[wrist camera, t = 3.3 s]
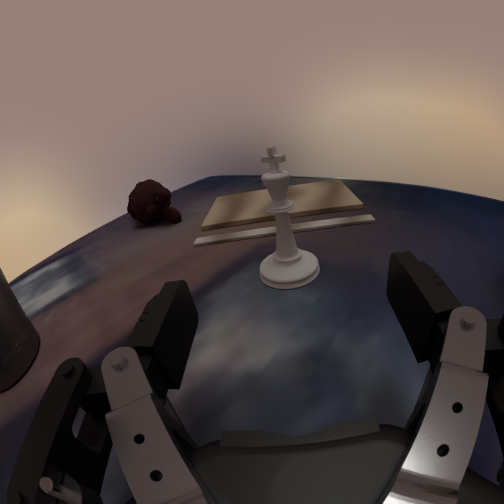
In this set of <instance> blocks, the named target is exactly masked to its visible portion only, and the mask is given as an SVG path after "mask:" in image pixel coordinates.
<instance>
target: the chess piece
mask: <svg viewBox="0 0 504 504" xmlns="http://www.w3.org/2000/svg"><path fill="white" fill-rule="evenodd" d="M267 153H268V156H262V157H261V162H262V163H269V164H270V169H271V170H270V171H269V172H267V173H265V174H263V175H262V181H263V183H264V185H265V186H266V188H267V190H268V192H269V194H270V196H271V198H272V202H270V203H269V204H267V206H266V207H267V208H266V211H267V212H269V213H275V220H276V251H275V252H274V253H273V254H271V255H269V256H268V257H266V258H265V259H264V260H263V261H262V263H261V265H260V279H261V280H262V282H263V283H264V284H266V285H268V286H270V287H273V288H277V289H293V288H298V287H301V286H304V285H306V284H308V283H310V282H312V281H313V280H314V279H315V278H316V277H317V276H318V274H319V271H320V268H319V265H318V260H317V258H316V257H315V256H314V255H313V254H312V253H310V252H308V251H304V250H300V249H299V248H297V246H296V242H295V238H294V235H293V231H292V227H291V223H290V219H289V215H288V211H291V210H292V209H294V208H295V204H294V202H293V201H291V200H288V199H286V196H287V192H288V184H289V180H290V173H289V172H288V171H285V170H281V169H279V166H278V162H284V161H286V159H285V155H277V154H276V148H275V147H268V148H267Z"/></svg>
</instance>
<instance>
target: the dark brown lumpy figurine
mask: <svg viewBox="0 0 504 504" xmlns="http://www.w3.org/2000/svg"><path fill="white" fill-rule="evenodd" d="M170 198H171V193H170V191H169V190H168V189H167V188H164V187H163V186H162V185H161V184H160V183H158V182H156V181H154V180H151V179H149V180H146V181H143V182H139V183H138V184H136V187H135V188H134V190H133V191H132V192H131V193H130V195H129V203H128V207H127V210H128V213H130V214H131V216H132V218H134V219H137V220H139V221H141V222H144V223H145V222H148V221H158V220H159V219H161V218H162V217H163V216H165V217H166V218H167V219H169V220H171V221H173V222H179V221H180V220H181V213H180V212H179V211H178V210H176V209H175V208H172V207H169V206H170V204H171V201H170Z"/></svg>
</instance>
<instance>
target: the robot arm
mask: <svg viewBox="0 0 504 504" xmlns="http://www.w3.org/2000/svg"><path fill="white" fill-rule="evenodd" d="M387 297H388V300H389V303H390V305H391V307H392V309H393V311H394V313H395V315H396V317H397V319H398V321H399V323H400V325H401V327H402V329H403V331H404V333H405V335H406V338H407V340H408V342H409V344H410V346H411V349H412V351H413V353H414V355H415V358H416V360H417V362H418V363H420V362H424V361H427V360H429V363H430V367H429V370H428V372H427V375H426V378H425V381H424V384H423V387H422V390H421V392H420V395H419V398H418V400H417V403H416V405H415V408H414V410H413V412H412V414H411V416H410V418H409V420H408V422H407V424H406V426H405V428H402V427H398V426H394V425H387V424H378V419H377V415H374V416H370V417H365V418H361V419H356V420H351V421H345V422H339V423H337V424H334V425H332V426H329V427H327V428H324V429H321V430H318V431H316V432H313V433H310V434H307V435H304V436H289V435H283V434H276V433H270V432H265V431H259V430H256V431H224V430H222V432H221V440H216V441H213V442H210V443H207V444H205V445H202V446H200V447H198V446H197V445H196V443H195V442H194V441H193V439H192V438H191V437H190V435H189V434H188V432H187V431H186V429H185V427H184V426H183V424H182V422H181V420H180V419H179V417H178V415H177V413H176V411H175V410H174V408H173V406H172V404H171V402H170V400H169V398H168V397H167V396H166V395H167V391H168V389H180V385H181V382H182V378H183V375H184V371H185V367H186V364H187V360H188V357H189V353H190V350H191V346H192V343H193V340H194V336H195V333H196V329H197V326H198V312H197V309H196V306H195V304H194V301H193V299H192V296H191V293H190V291H189V288H188V285H187V283H186V282H185V281H184V280H180V281H171V282H166V283H165V284H164V286H163V288H162V289H161V291H160V293H159V295H155V296H154V297H153V298H152V299H151V300H150V301H149V302H148V303H147V305H146V307H145V308H144V310H143V312H142V313H143V314H141V316H140V318H139V322H137V323H136V325H135V327H134V329H133V331H132V333H131V335H130V337H129V339H128V341H127V343H126V345H125V347H120V348H117V349H115V350H113V351H111V352H110V353H109V354H108V355H107V356H106V357H105V358H104V360H103V362H102V364H99V365H95V366H90V367H86V365H85V364H84V363H83V362H82V360H81V359H79V358H70V359H67V360H66V361H64V362H63V363H62V364H61V365H60V366H59V367H58V369H57V370H56V372H55V374H54V376H53V378H52V380H51V382H50V384H49V386H48V388H47V390H46V392H45V394H44V396H43V398H42V400H41V402H40V404H39V406H38V408H37V411H36V413H35V415H34V417H33V420H32V422H31V424H30V427H29V429H28V431H27V434H26V436H25V439H24V441H23V444H22V447H21V449H20V452H19V455H18V458H17V461H16V464H15V467H14V470H13V473H12V476H11V479H10V483H9V486H8V490H7V504H103V502H102V499H101V497H100V492H101V488H102V483H103V479H104V475H105V471H106V467H107V463H108V459H109V455H110V451H111V448H112V444H113V445H114V448H115V451H116V454H117V457H118V459H119V462H120V465H121V467H122V470H123V473H124V475H125V477H126V480H127V482H128V485H129V487H130V489H131V492H132V494H133V496H134V497H133V498H132V499H131V500H129V501H128V502H126V503H125V504H504V459H503V461H502V463H501V467H500V469H499V470H498V472H497V475H496V479H497V481H498V482H500V483H499V486H498V485H496V484H494V483H493V482H491V481H489V480H487V479H486V478H484V477H482V476H481V475H479V474H477V473H476V472H474V471H472V470H471V469H469V468H467V465H468V463H469V460H470V457H471V454H472V451H473V447H474V444H475V441H476V437H477V434H478V430H479V426H480V422H481V418H482V413H483V408H484V404H485V399H486V401H487V404H488V407H489V410H490V413H491V416H492V419H493V422H494V425H495V428H496V431H497V435H498V438H499V442H500V445H501V449H502V453H503V458H504V314H503V316H502V319H485V317H484V316H483V315H482V314H481V313H480V312H479V311H478V310H476V309H474V308H472V307H468V306H462V305H461V304H460V303H459V301H458V300H457V299H456V297H455V296H454V295H453V293H452V292H451V291H450V289H449V288H448V287H447V285H446V284H444V282H443V280H442V279H441V278H440V277H439V275H438V274H437V273H436V272H435V270H434V269H433V268H432V267H430V266H429V265H427V264H425V263H424V262H419V261H418V260H417V259H416V258H415V256H414V255H413V254H412V253H411V252H410V251H404V252H398V253H392V254H391V255H390V260H389V270H388V280H387ZM38 346H39V335H38V332H37V331H36V329H35V328H34V326H33V325H32V323H31V322H30V320H29V319H28V317H27V316H26V314H25V312H24V311H23V309H22V307H21V306H20V304H19V302H18V300H17V299H16V297H15V295H14V293H13V291H12V290H11V288H10V286H9V284H8V282H7V280H6V278H5V276H4V274H3V272H2V270H1V268H0V391H3V390H5V389H7V388H8V387H10V386H11V385H13V384H14V383H15V382H16V381H17V380H18V379H19V378H20V377H21V376H22V375H23V374H24V373H25V371H26V370H27V369H28V367H29V366H30V364H31V363H32V361H33V359H34V357H35V355H36V353H37V350H38ZM79 407H81V408H82V409H83V410H84V411H85V412H86V414H85V416H84V419H83V422H82V424H81V427H80V430H79V433H78V436H77V438H75V437H74V435H73V432H72V425H73V422H74V419H75V417H76V414H77V412H78V409H79Z"/></svg>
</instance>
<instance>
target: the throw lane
mask: <svg viewBox="0 0 504 504" xmlns="http://www.w3.org/2000/svg"><path fill="white" fill-rule="evenodd" d="M286 199H288V200H291V201H293V202H294V204H295V208H294V209H292V210H291V211H288V215H289V218H291V217H299V216H306V215H314V214H322V213H330V212H338V211H346V210H355V209H363V203H362V202H361V201H360V200H359V199H358V198H357V197H356V196H355V195H354V194H353V193H352V192H351V191H350V190H349V189H348V188H347V187H346V186H345V185H344V184H343V183H342V182H341V181H340V180H335V181H326V182H317V183H309V184H301V185H293V186H288V192H287V196H286ZM270 202H272V198H271V196H270V194H269V192H268V190H267V189H265V190H258V191H252V192H246V193H240V194H234V195H228V196H222V197H217V199H216V201H215V203H214V204H213V206H212V208H211V210H210V211H209V213H208V215H207V217H206V218H205V220H204V222H203V224H202V226H201V228H202V231H203V230H210V229H216V228H222V227H229V226H235V225H242V224H249V223H256V222H262V221H269V220H275V213H269V212H267V211H266V208H267V207H266V206H267V204H269V203H270ZM370 222H375V219H374V218H373V216H372V215H371V214H369V215H361V216H353V217H344V218H336V219H328V220H320V221H313V222H305V223H298V224H291V227H292V231H293V232H300V231H308V230H315V229H323V228H331V227H339V226H346V225H354V224H362V223H370ZM271 235H276V227H268V228H261V229H254V230H247V231H241V232H234V233H227V234H220V235H214V236H207V237H201V238H196V240H195V242H194V246H201V245H208V244H214V243H221V242H228V241H235V240H242V239H249V238H257V237H264V236H271Z"/></svg>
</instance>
